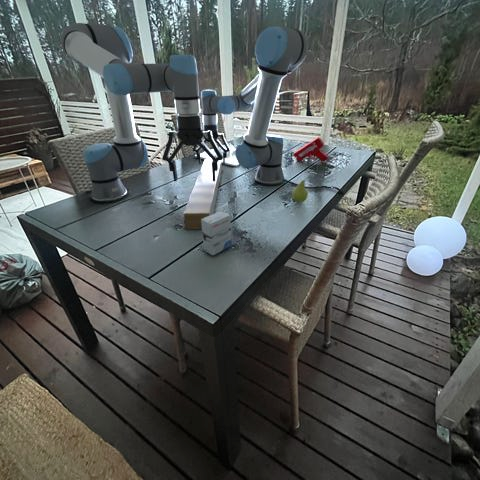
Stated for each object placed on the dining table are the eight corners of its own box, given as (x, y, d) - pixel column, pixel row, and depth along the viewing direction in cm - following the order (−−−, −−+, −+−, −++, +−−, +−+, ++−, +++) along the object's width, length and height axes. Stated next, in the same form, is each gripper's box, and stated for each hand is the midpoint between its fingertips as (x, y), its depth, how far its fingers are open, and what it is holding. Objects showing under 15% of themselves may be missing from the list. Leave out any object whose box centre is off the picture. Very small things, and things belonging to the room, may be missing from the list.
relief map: (235, 166, 165) (235, 158, 162) (194, 157, 182) (193, 149, 179) (260, 156, 183) (260, 148, 180) (220, 148, 201) (220, 141, 198)
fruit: (288, 200, 123) (290, 174, 116) (302, 197, 125) (305, 172, 119) (296, 206, 118) (299, 179, 111) (310, 203, 120) (314, 177, 114)
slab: (205, 170, 160) (205, 159, 156) (221, 170, 159) (221, 158, 156) (185, 229, 102) (183, 213, 98) (210, 229, 102) (209, 213, 98)
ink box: (222, 240, 95) (220, 209, 89) (232, 245, 92) (231, 214, 86) (203, 250, 90) (200, 218, 84) (212, 256, 87) (210, 224, 81)
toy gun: (332, 156, 168) (319, 135, 164) (331, 158, 165) (319, 137, 161) (306, 172, 178) (294, 152, 174) (305, 174, 175) (293, 154, 171)
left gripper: (145, 116, 81) (157, 183, 93) (227, 116, 81) (229, 183, 93) (151, 113, 88) (162, 176, 99) (228, 112, 88) (230, 176, 99)
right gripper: (185, 124, 138) (189, 165, 150) (233, 125, 138) (234, 166, 150) (187, 122, 145) (191, 161, 156) (234, 122, 145) (234, 161, 156)
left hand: (195, 180), depth 96 cm, fingers open, 13 cm apart
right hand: (212, 163), depth 153 cm, fingers open, 13 cm apart
